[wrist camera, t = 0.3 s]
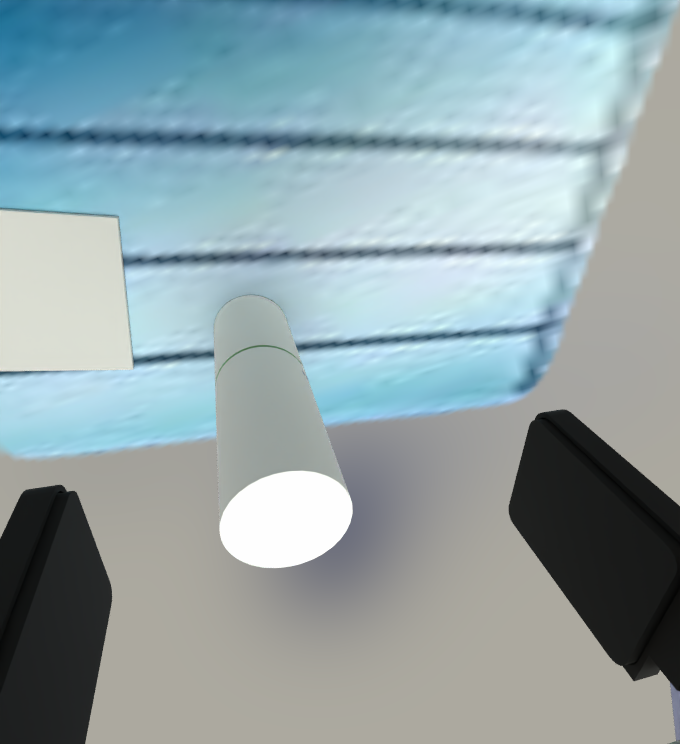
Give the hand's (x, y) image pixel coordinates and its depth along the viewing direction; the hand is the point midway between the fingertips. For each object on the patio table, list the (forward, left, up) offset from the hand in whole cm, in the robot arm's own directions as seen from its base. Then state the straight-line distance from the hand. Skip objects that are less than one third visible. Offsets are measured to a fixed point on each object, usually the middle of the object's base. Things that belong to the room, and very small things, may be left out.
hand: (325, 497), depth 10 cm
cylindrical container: (+12, +2, -36) cm, 38 cm away
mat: (+9, -16, -36) cm, 41 cm away
